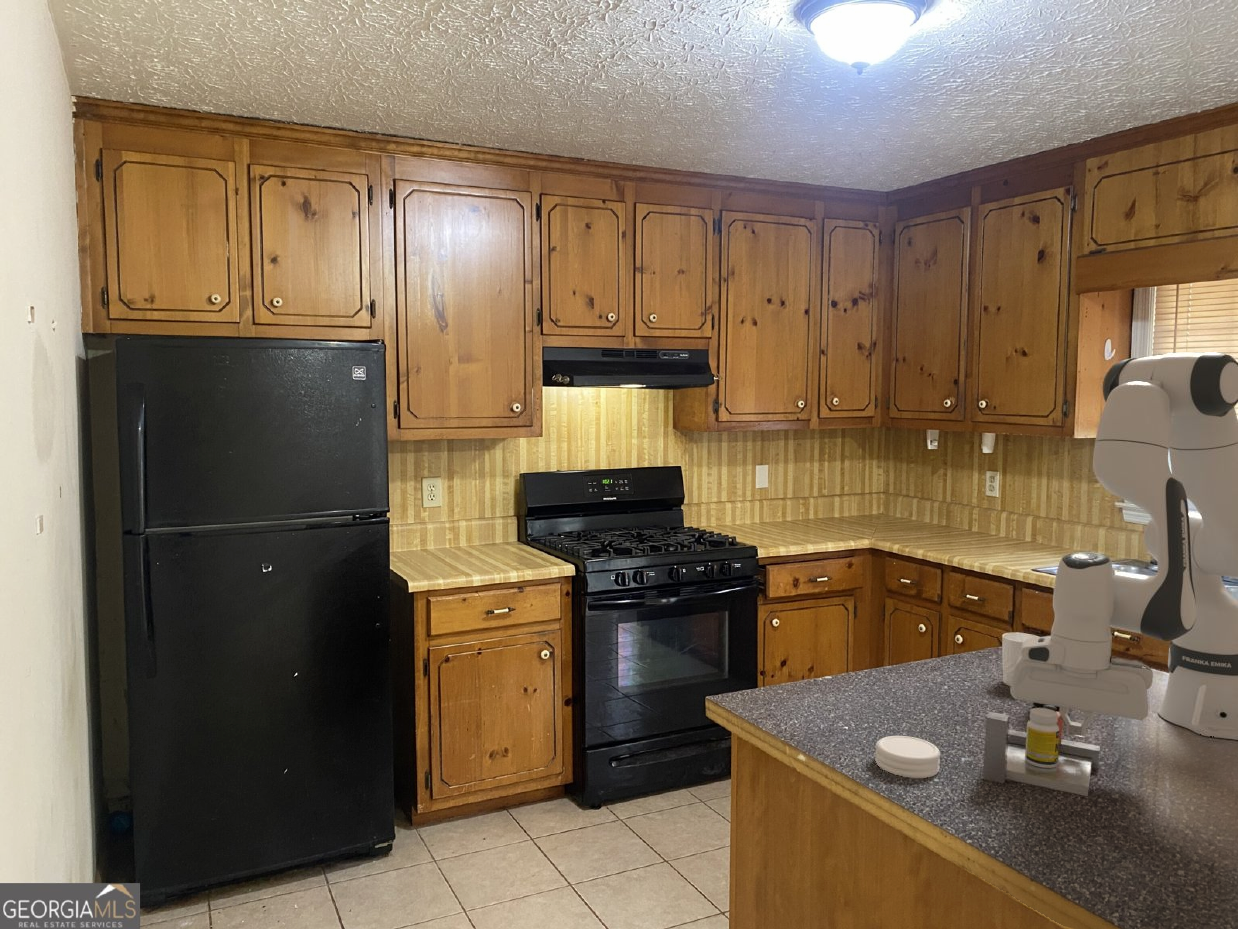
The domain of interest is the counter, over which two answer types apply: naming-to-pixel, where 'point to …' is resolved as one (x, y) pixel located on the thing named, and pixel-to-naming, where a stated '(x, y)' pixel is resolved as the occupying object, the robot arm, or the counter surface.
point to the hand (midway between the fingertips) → (1075, 734)
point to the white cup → (1012, 652)
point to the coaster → (907, 756)
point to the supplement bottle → (1042, 738)
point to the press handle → (1059, 722)
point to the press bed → (1010, 763)
